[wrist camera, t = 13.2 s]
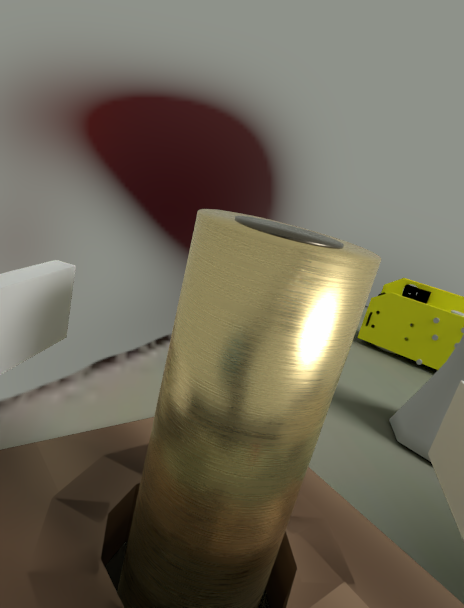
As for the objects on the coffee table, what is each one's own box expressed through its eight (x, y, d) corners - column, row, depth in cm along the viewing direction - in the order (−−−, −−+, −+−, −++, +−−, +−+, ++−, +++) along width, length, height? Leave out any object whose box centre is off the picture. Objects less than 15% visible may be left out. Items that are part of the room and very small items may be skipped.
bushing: (201, 528, 19) (287, 219, 15) (277, 631, 15) (417, 263, 11) (92, 576, 16) (163, 198, 12) (157, 720, 12) (292, 250, 8)
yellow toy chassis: (507, 390, 46) (541, 321, 44) (508, 408, 42) (546, 331, 39) (367, 334, 54) (389, 272, 51) (354, 344, 49) (378, 276, 46)
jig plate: (220, 443, 25) (232, 400, 24) (449, 680, 15) (483, 621, 14) (-68, 528, 16) (-66, 463, 15) (35, 1253, 6) (58, 1189, 5)
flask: (485, 444, 33) (543, 328, 30) (495, 497, 27) (570, 356, 24) (392, 404, 36) (437, 294, 33) (381, 444, 29) (436, 312, 26)
